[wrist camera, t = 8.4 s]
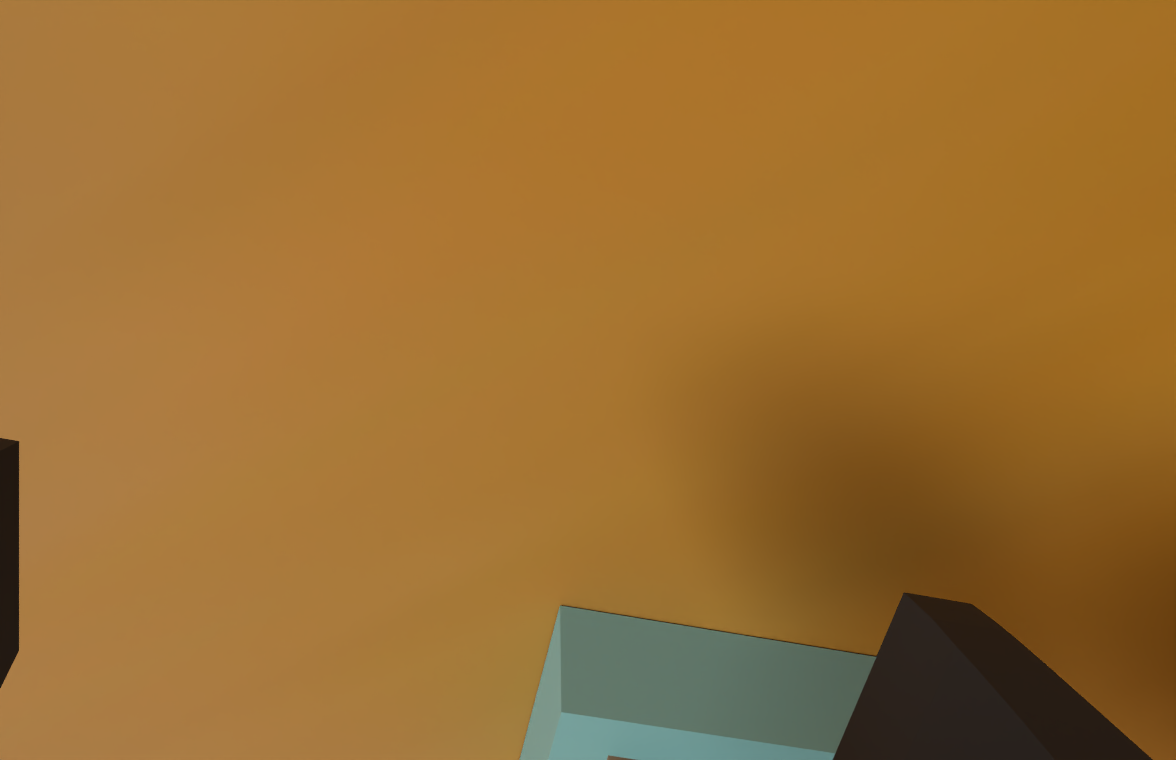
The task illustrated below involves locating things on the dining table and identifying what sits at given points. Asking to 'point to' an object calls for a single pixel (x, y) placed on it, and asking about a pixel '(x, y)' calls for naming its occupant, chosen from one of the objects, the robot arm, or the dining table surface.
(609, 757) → the walnut cube
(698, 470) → the dining table surface
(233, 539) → the dining table surface
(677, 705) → the teal plinth
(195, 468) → the dining table surface
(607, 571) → the dining table surface
